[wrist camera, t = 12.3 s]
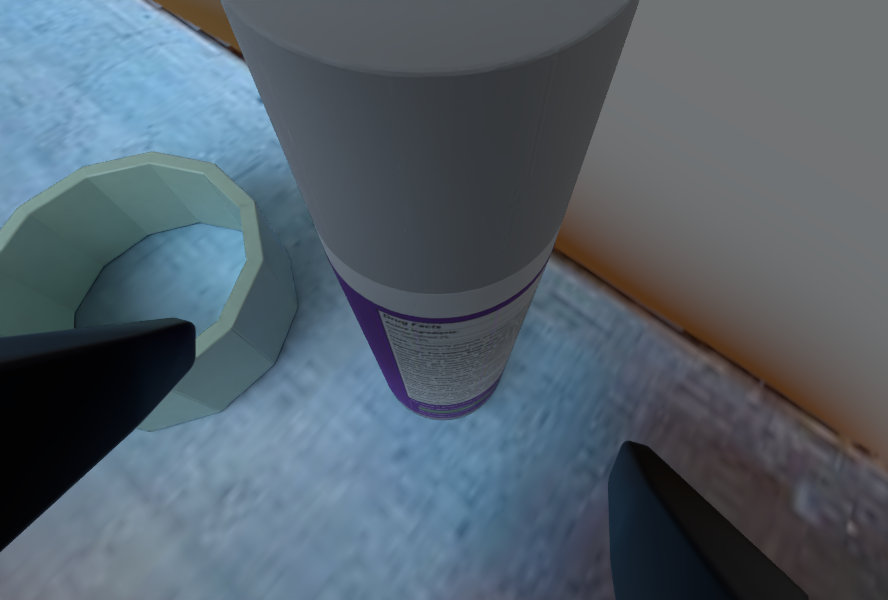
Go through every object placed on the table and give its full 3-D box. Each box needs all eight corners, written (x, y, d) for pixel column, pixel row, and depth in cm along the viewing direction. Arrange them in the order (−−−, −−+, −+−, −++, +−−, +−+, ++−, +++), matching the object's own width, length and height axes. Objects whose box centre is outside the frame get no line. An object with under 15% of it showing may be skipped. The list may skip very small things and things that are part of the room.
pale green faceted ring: (341, 305, 19) (317, 257, 16) (139, 484, 16) (51, 477, 13) (209, 180, 22) (163, 115, 18) (17, 314, 19) (-84, 269, 16)
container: (380, 313, 19) (211, -178, 5) (491, 300, 19) (597, -206, 6) (388, 428, 17) (158, 112, 3) (512, 412, 17) (749, 54, 4)
